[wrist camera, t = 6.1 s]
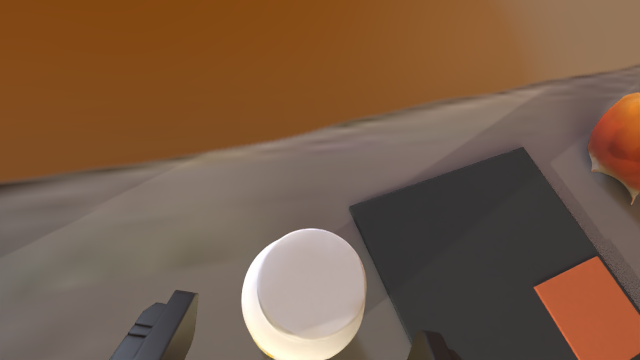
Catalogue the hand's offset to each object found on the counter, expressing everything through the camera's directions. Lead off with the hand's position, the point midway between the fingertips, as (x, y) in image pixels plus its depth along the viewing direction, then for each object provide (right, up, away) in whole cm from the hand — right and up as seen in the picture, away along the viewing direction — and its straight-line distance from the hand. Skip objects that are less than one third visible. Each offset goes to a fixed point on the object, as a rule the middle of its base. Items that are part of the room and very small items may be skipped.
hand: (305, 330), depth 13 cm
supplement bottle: (-1, -3, +9) cm, 9 cm away
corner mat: (+13, -1, +11) cm, 17 cm away
